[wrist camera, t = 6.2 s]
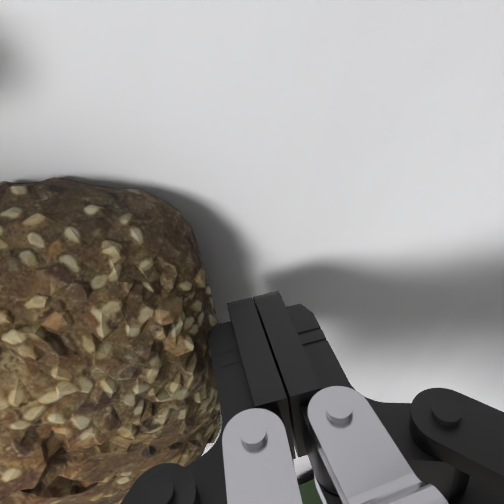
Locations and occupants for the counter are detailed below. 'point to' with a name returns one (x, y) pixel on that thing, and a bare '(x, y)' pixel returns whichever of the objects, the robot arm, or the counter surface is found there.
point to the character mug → (310, 493)
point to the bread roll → (99, 342)
